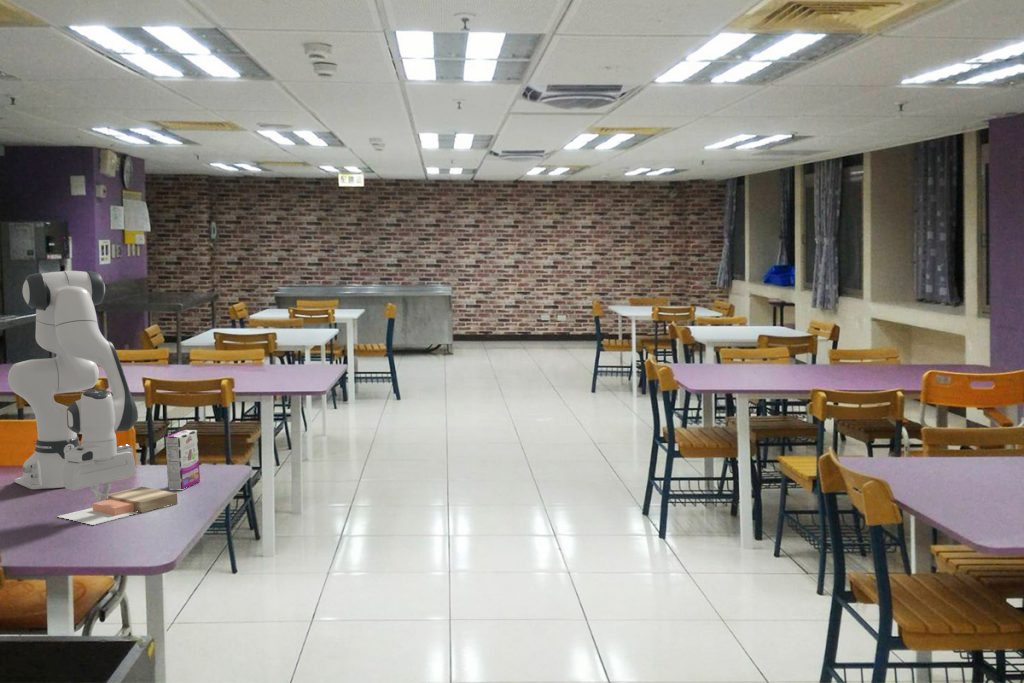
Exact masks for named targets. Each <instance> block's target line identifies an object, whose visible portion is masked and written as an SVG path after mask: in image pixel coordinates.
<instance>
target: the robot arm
mask: <svg viewBox="0 0 1024 683" xmlns="http://www.w3.org/2000/svg"><path fill="white" fill-rule="evenodd" d="M105 293H106V286H105V283H104V279H103V277H102V275H101V274H99V272H96V271H91V270H86V271H83V270H82V271H81V270H63V271H50V272H43V273H41V272H37V273H31V274H28V275H27V276H26V277H25V279H24V282H23V286H22V296H23V299H24V302H25V303H26V305H27V306H28V307H29V308H30V309H33V310H35V314H36V315H35V341H36V343H37V344H38V346H40V347H41V348H42V349H43V350H46V351H48V352H50V353H53V354H54V355H55V354H56V356H55V357H49V358H38V359H37V358H36V359H28V360H23V361H20V362H16V363H14V364H13V365H12V366H11V367H10V369H9V371H8V374H7V383H8V386H9V388H10V389H11V391H12V392H13V393H14V394H16V395H18V396H19V397H20V398H22V399H23V400H25V401H26V402H27V403H28V405H29V406H30V408H31V409H32V412H33V414H34V416H35V422H36V428H37V429H36V430H37V440H33V442H34V443H33V445H35V448H34V452H33V453H32V455H30V456H29V458H27V459H26V460H25V461H24V463H23V465H22V468H21V469H22V476H20V477H17V478H15V479H14V483H16V484H18V485H20V486H22V487H25V488H27V489H29V490H42V489H43V490H44V489H59V488H65V489H67V490H69V491H77V490H81V489H86V488H89V487H90V489H91V491H92V492H93V494H94V498H95V501H97V502H101V501H105V499H108V498H109V497H108V494H109V493H110V491H111V489H112V485H113V482H119V481H122V480H126V479H131V478H133V477H135V475H136V474H137V468H136V463H135V457H134V448H133V447H132V445H129V444H123V445H118V444H117V435H116V432H128V431H129V430H130V429H132V428H133V427H134V426H135V424H136V423H137V422H138V418H139V412H138V408H137V405H136V402H135V400H134V397H133V396H132V394H131V393H132V392H131V390H130V387H129V385H128V381H127V379H126V376H125V373H124V369H123V367H122V364H121V361H120V358H119V356H118V352H117V350H116V348H115V346H114V344H113V342H112V341H109V340H107V339H106V338H105V336H103V334H102V332H101V330H100V328H99V324H98V323H99V322H98V316H97V312H96V308H95V306H98V305H101V303H102V301H104V299H105ZM98 366H100V367H101V369H103V370H104V373H105V375H106V379H107V382H108V384H109V387H110V390H111V392H110V391H108V390H107V389H102V388H94V387H95V386H96V385H97V383H98V381H99V379H100V371H99V369H100V368H99V367H98ZM78 392H82V393H81V395H80V399H77V400H75V401H73V402H72V403H70V405H69V406H68V405H65V404H62V403H58V402H57V401H56V400H55V395H57V394H67V393H68V394H69V393H78ZM78 435H81V443H80V440H79V436H78ZM101 485H102V486H103V489H102V492H100V490H99V489H101Z"/></svg>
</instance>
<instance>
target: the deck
mask: <svg viewBox="0 0 1024 683" xmlns="http://www.w3.org/2000/svg"><path fill="white" fill-rule="evenodd" d="M108 497H109V498H108V499H105V500H109V499H114V500H119V501H124V502H129V503H133V504H134V511H138V512H144V513H147V512H146V511H148V512H150V511H149V510H152V511H154V510H153V509H156V508H159V509H161V508H160V507H163V508H165V507H164V506H167V505H171V504H175V505H177V504H178V493H177V492H172V491H167V490H162V489H157V488H150V487H145V486H139V487H133V488H129V489H125V490H122V491H121V490H120V491H117V492H112V493H108ZM105 500H104V501H105ZM176 503H177V504H176ZM171 506H172V505H171ZM167 507H168V506H167ZM156 510H157V509H156ZM134 511H133V512H134ZM138 512H137V513H138Z"/></svg>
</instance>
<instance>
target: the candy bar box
mask: <svg viewBox="0 0 1024 683" xmlns="http://www.w3.org/2000/svg"><path fill="white" fill-rule="evenodd" d="M164 440H165V454H166V471H167V488H169V489H184V488H186V487H189V486H191V485H193V484H195V485H197V484H199V483H200V482H201V475H200V459H199V458H200V457H199V440H198V430H197V429H196V430H195V429H184V430H181V431H178V432H175V433H173V434H169V435H168V436H165V437H164ZM198 482H199V483H198ZM196 483H197V484H196ZM193 486H194V485H193ZM191 487H192V486H191ZM189 488H190V487H189ZM169 489H168V490H169ZM184 490H185V489H184Z"/></svg>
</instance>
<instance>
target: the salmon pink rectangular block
mask: <svg viewBox="0 0 1024 683" xmlns="http://www.w3.org/2000/svg"><path fill="white" fill-rule="evenodd" d="M92 508H93V511H97V512H101V513H106V514H110V515H115V516H116V515H119V514H123V513H127V512H131V511H132V512H134V504H133V503H129V502H124V501H119V500H114V499H109V500H101V501H97V502H93V503H92Z"/></svg>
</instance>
